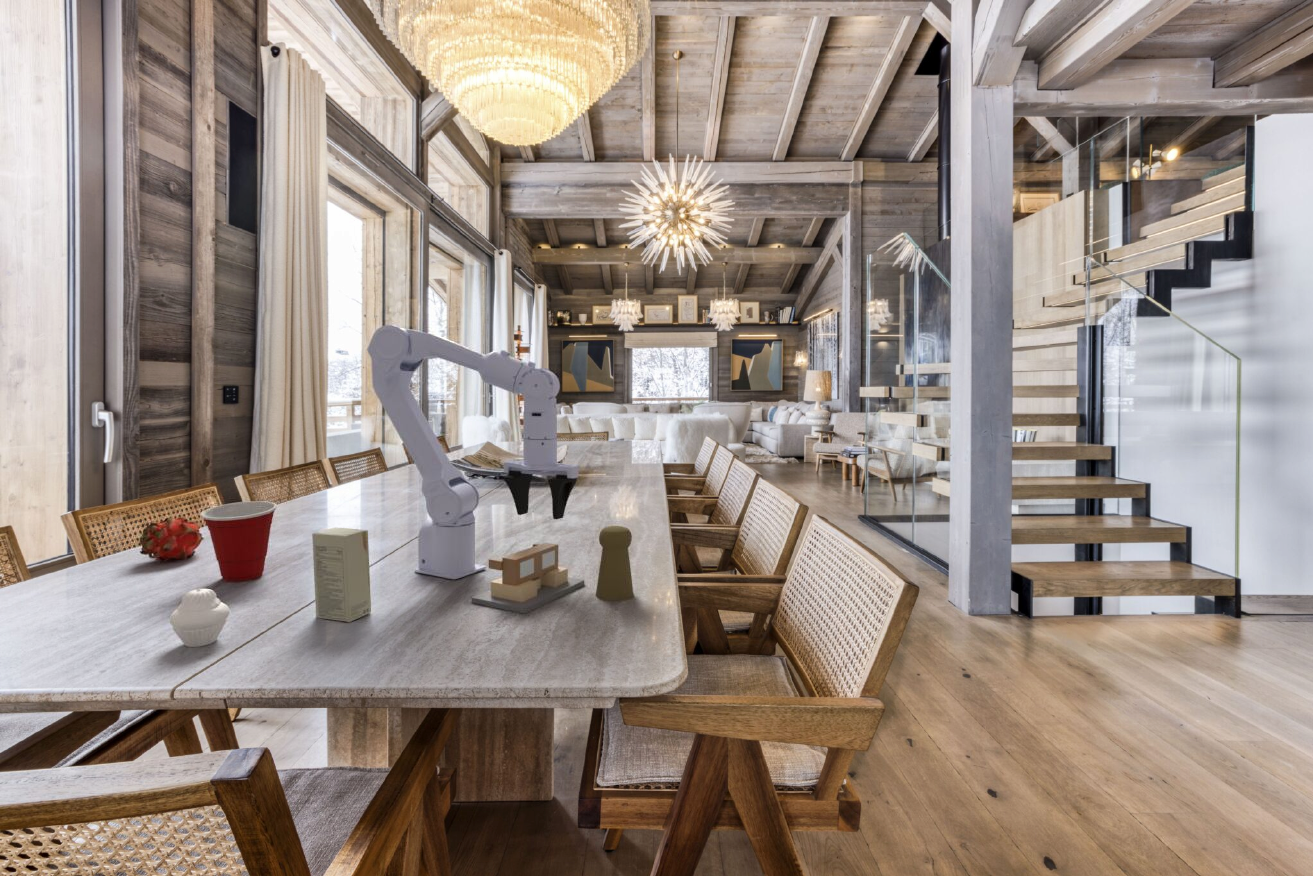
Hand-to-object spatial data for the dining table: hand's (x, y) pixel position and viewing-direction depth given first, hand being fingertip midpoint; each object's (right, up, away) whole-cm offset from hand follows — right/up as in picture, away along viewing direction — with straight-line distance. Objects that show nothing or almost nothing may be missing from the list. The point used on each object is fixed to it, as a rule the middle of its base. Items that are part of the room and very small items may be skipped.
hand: (540, 516), depth 113 cm
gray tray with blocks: (0, -11, -9) cm, 15 cm away
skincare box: (-24, -12, -21) cm, 34 cm away
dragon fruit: (-69, -9, +7) cm, 70 cm away
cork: (+14, -12, -9) cm, 20 cm away
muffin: (-37, -12, -31) cm, 50 cm away
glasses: (-1, -8, -10) cm, 13 cm away
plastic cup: (-49, -10, -4) cm, 51 cm away
